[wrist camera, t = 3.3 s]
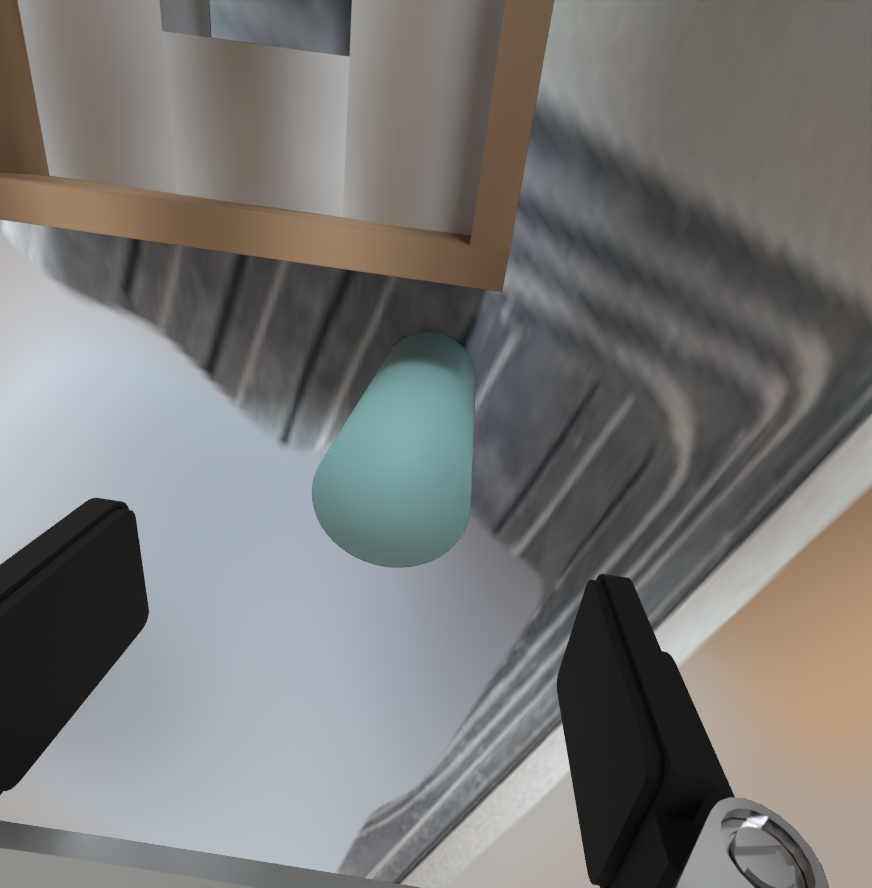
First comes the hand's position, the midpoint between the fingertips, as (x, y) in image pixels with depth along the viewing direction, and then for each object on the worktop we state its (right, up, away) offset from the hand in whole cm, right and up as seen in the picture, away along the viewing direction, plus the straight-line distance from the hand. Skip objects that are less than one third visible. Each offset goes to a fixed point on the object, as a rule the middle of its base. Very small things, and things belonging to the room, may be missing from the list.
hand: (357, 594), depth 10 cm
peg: (+1, +6, +11) cm, 13 cm away
